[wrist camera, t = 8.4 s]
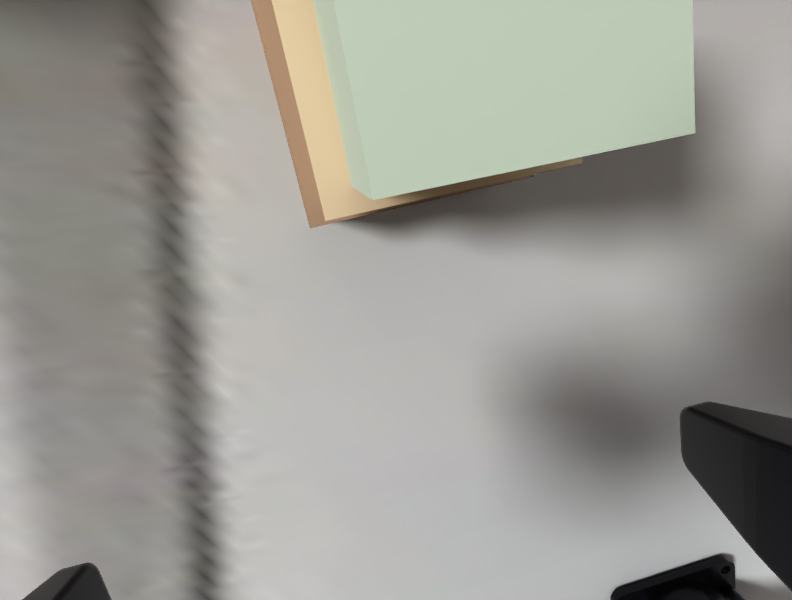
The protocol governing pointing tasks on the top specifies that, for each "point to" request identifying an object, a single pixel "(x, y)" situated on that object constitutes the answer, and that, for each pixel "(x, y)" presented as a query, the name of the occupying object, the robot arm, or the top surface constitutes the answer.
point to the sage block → (501, 84)
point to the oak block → (323, 125)
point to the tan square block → (294, 126)
